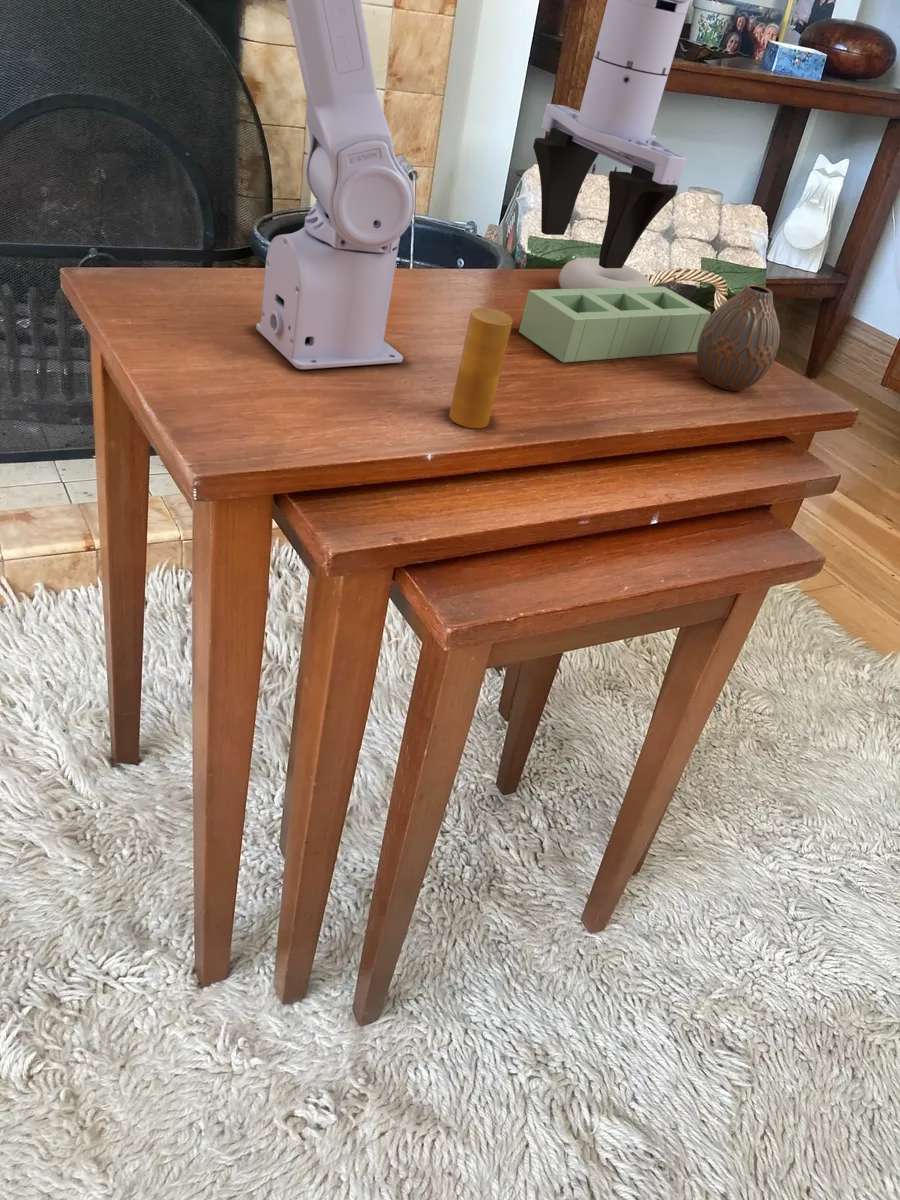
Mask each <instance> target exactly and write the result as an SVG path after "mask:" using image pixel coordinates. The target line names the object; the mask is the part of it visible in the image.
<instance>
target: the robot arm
mask: <svg viewBox="0 0 900 1200" xmlns="http://www.w3.org/2000/svg"><path fill="white" fill-rule="evenodd" d="M690 3H691V0H607V1H606V6H605V9H604V13H603V18H602V22H601V25H600V29H599V33H598V37H597V40H596V45H595V50H594V53H593V57H592V61H591V65H590V69H589V73H588V76H587V81H586V83H585V84H586V85H585V89H584V93H583V97H582V101H581V105H580V109H579V110H577V109H574V108H572V107H569V106H566V105H562V104H561V105H560V104H553V103H547V104H546V106H545V110H544V114H543V118H542V122H541V127H540V129H541V130H542V131H545V132H546V133H549V134H547V135H546V137H535V138H534V141H533V145H532V148H533V151H534V154H535V158H536V162H537V167H538V172H539V181H540V193H541V195H540V196H541V197H540V199H541V200H540V201H541V207H540V208H541V213H540V215H541V216H540V217H541V219H540V220H541V221H540V231H541V233H542V234H544V235H548V236H549V235H550V236H564V235H565V233H566V230H567V229H568V227H569V224H570V221H571V219H572V215H573V213H574V209H575V206H576V203H577V199H578V196H579V193H580V191H581V188H582V187H583V184H584V181H585V180H586V177H587V175H588V174H589V171H590V169H591V168H592V165H593V164H594V163H595V161H596V159H597V157H598V156H599V155H601V156H604V157H606V158H608V159H611V160H612V161H615V162H617V163H619V164H621V165H623V166H626V167H627V168H629V169H631V171H629V172H628V171H617V170H616V171H615V170H610V171H609V172H608V173H609V174H608V190H609V193H608V194H609V195H608V213H607V219H606V226H605V230H604V235H603V236H602V237H603V238H602V242H601V247H600V251H599V257H598V258H599V266H601V267H603V268H622V267H623V265H625V263H626V262H627V260H628V259H629V257H630V254H631V253H632V251H633V249H634V248H635V246H636V244H637V243H638V242H639V240H640V238H641V236H642V235H643V234H644V232H645V230H646V228H647V227H648V226H649V225H650V223H651V222H652V221H653V220H654V219H655V218H656V216H657V215H658V214H659V213H660V212H661V210H662V209H663V208H664V207H665V206H666V205H667V204H668V203H670V201H671V200H673V198H674V197H676V195H677V192H678V189H679V185H680V182H681V179H682V177H683V173H684V171H685V167H686V164H687V161H688V158H687V157H685V156H683V155H681V154H679V153H677V152H675V151H674V150H671V149H670V148H669V147H667V146H666V145H664V144H662V143H660V142H659V141H658V140H656V138H657V136H656V135H655V134H653V133H652V130H653V127H654V125H655V120H656V118H657V114H658V112H659V111H658V110H659V107H660V105H661V100H662V97H663V94H664V91H665V87H666V84H667V81H668V77H669V74H670V71H671V67H672V65H673V61H674V58H675V54H676V51H677V47H678V44H679V40H680V37H681V33H682V30H683V27H684V24H685V19H686V16H687V13H688V10H689V6H690ZM285 4H286V8H287V13H288V17H289V21H290V22H289V23H290V28H291V31H292V37H293V41H294V46H295V50H296V54H297V59H298V63H299V68H300V73H301V78H302V82H303V86H304V92H305V96H306V114H305V119H306V120H305V121H306V124H307V129H308V135H309V149H308V153H307V156H306V161H305V178H306V182H307V185H308V188H309V190H310V192H311V194H312V196H313V197H314V198H315V203H314V204H313V205H312V207H311V208H310V210H309V211H308V214H307V215H305V218H304V226H303V227H302V228H300V229H299V230H297V231H295V232H294V231H293V232H292V233H283V234H279V235H276V236H274V237H273V238H272V240H271V241H270V243H269V246H268V249H267V252H266V257H265V268H264V279H263V291H262V303H261V315H260V322H258V323H256V327H255V329H256V330H257V331H258V332H259V334H261V335H262V336H263V338H265V339H266V340H267V341H268V342H269V343H270V344H271V345H272V346H273V347H274V348H275V349H276V350H277V351H278V352H279V353H280V354H281V355H282V356H283V357H284V358H285V359H287V361H289V362H290V363H291V365H293V366H294V367H295V368H296V369H297V370H315V369H330V368H342V367H343V368H344V367H355V366H356V367H357V366H372V365H385V364H399V363H403V360H404V356H403V355H402V354H401V353H400V352H398V351H397V350H396V349H395V348H394V347H393V346H391V345H390V344H389V343H388V342H386V341H385V334H386V330H387V323H388V317H389V309H390V303H391V298H392V297H391V296H392V290H393V285H394V280H395V279H394V278H395V271H396V266H397V259H398V255H399V254H398V253H399V246H400V241H401V236H403V234H404V233H405V232H406V231H407V229H408V228H409V226H410V225H411V222H412V220H413V218H414V217H413V216H414V214H415V208H416V193H415V189H414V185H413V183H412V180H411V178H410V177H409V174H407V172H406V171H405V169H404V168H403V167H402V165H401V164H400V162H399V160H398V158H397V155H396V153H395V148H394V143H393V138H392V133H391V130H390V127H389V125H388V122H387V119H386V116H385V113H384V110H383V107H382V104H381V102H380V99H379V95H378V91H377V85H376V80H375V74H374V69H373V63H372V56H371V51H370V45H369V39H368V34H367V27H366V21H365V17H364V9H363V4H362V0H285Z"/></svg>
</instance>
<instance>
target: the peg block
mask: <svg viewBox="0 0 900 1200" xmlns="http://www.w3.org/2000/svg"><path fill="white" fill-rule="evenodd" d="M711 315H712V313H711V312H710V311H709V310H707V309H705V308H703V307H701V306H700V305H698V304H697V303H694V302H692V301H691V300H689V299H687V298H685V297H684V296H682V295H680V294H678V293H677V292H675V291H673V290H671V289H669V288H667V287H666V286H652V287H623V288H590V289H561V288H553V289H549V288H548V289H529V290H528V293H527V297H526V302H525V306H524V310H523V313H522V317H521V321H520V324H519V325H520V326H519V330H518V333H519V334H521V335H522V336H524V337H525V338H526V339H528V340H529V341H530V342H532V343H534V344H536V345H537V346H538V347H540V348H541V349H542V350H544V351H545V352H547V353H548V354H550V355H551V356H553V357H554V359H557V360H558V361H559V362H561V363H564V364H565V363H573V362H574V363H575V362H576V363H577V362H588V361H602V360H614V359H626V358H639V357H650V356H652V357H653V356H663V355H676V354H686V353H687V354H689V353H697V346H698V341H699V338H700V334H701V332H702V329H703V327H704V325H705V323H706V322H707V320H708V319H709V317H710V316H711Z"/></svg>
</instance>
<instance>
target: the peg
mask: <svg viewBox="0 0 900 1200" xmlns="http://www.w3.org/2000/svg"><path fill="white" fill-rule="evenodd" d="M468 318H469V319H468V324H467V328H466V332H465V338H464V343H463V347H462V352H461V357H460V361H459V367H458V371H457V376H456V380H455V385H454V390H453V394H452V400H451V405H450V409H449V414H448V417H449V419H450V420H451V421H452V422H454V423H455V424H457V425H459V426H461V427H464V428H467V429H483V428H486V427H487V426H488V425H489V423H490V418H491V415H492V411H493V407H494V402H495V398H496V393H497V389H498V385H499V381H500V376H501V372H502V367H503V363H504V360H505V356H506V351H507V347H508V343H509V339H510V334H511V330H512V325H513V321H514V320H513V318H512V317H511V316H510V315H509V314H508V313H506V312H503V311H501V310H498V309H494V308H489V307H476V308H473V309H472V310H470V314H469V317H468Z"/></svg>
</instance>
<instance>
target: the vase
mask: <svg viewBox="0 0 900 1200" xmlns="http://www.w3.org/2000/svg"><path fill="white" fill-rule="evenodd" d="M773 295H774V294H773V291H772V290H771V289H770V288H768V287H766V286H762V285H761V284H755V283H747V284H745V285H744V286H743V288H742V289H741V290H740V291H738V293H737V294H735V295H734V296H732V297H731V298H729V299H728V300H726V301H725V302H724V303H722V304H721V305H719V306H718V307H717V308H716V309H715V310H714V311H713V312H712V313H711V314H710V317H709V319H708V320H707V322H706V323H705V325H704V327H703V329H702V332H701V334H700V338H699V341H698V346H697V352H696V363H697V367H698V369H699V372H700V374H701V376H702V378H703V379H704V380H705V381H706V382H708V383H709V384H711V385H712V386H715V387H718V388H720V389H723V390H726V391H732V392H733V391H735V392H740V391H744V390H746V389H748V388H751V387H752V386H754V385H756V384H757V383H759V382H760V381H761V380H762V379H763V378H764V376H765V375H766V374H767V373H768V372H769V370H770V368H771V367H772V366H773V363H774V361H775V358H776V356H777V353H778V350H779V346H780V339H781V337H780V336H781V329H780V324H779V319H778V316H777V312H776V309H775V306H774V296H773Z"/></svg>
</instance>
